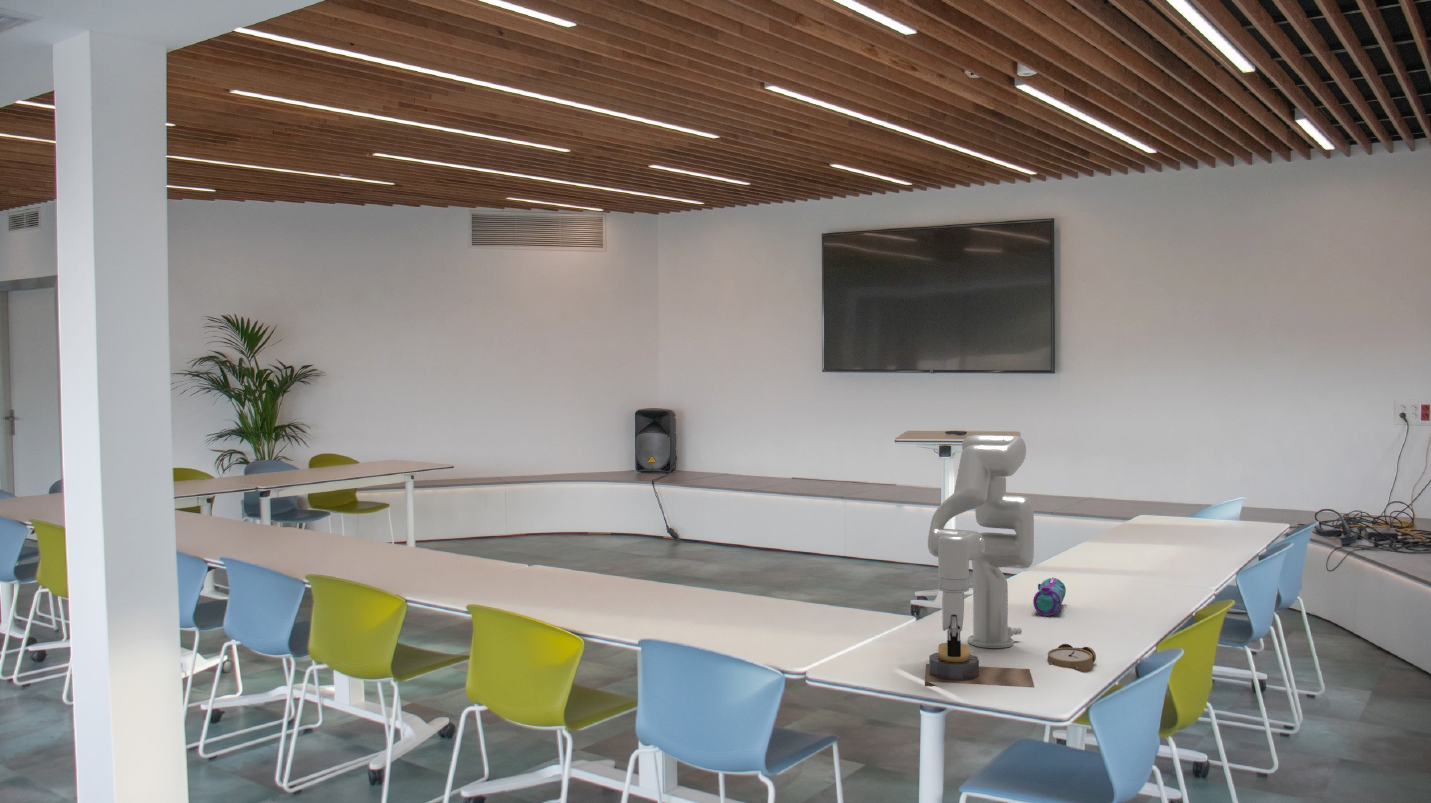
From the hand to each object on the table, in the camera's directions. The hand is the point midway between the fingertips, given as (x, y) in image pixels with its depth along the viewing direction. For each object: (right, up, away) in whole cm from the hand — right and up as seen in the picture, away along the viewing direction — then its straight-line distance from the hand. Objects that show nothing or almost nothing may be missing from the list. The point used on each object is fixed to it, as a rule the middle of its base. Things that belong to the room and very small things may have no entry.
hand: (954, 651), depth 263 cm
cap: (0, -6, 0) cm, 6 cm away
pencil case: (+48, -5, +75) cm, 90 cm away
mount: (+6, -7, -1) cm, 9 cm away
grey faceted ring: (0, -6, 0) cm, 6 cm away
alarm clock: (+34, -7, +11) cm, 36 cm away
